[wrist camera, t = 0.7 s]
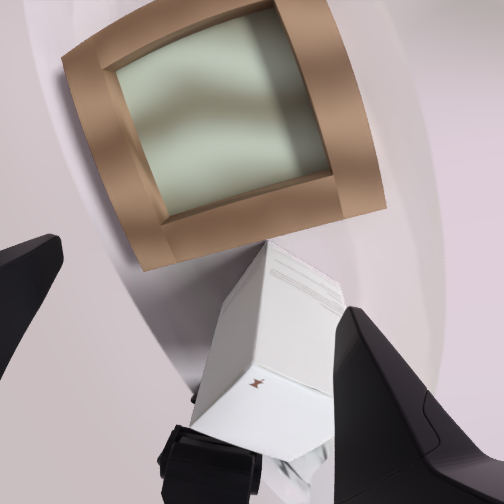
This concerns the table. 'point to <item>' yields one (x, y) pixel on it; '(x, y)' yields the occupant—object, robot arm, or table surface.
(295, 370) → the supplement box
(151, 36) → the pocket board
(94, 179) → the table surface
